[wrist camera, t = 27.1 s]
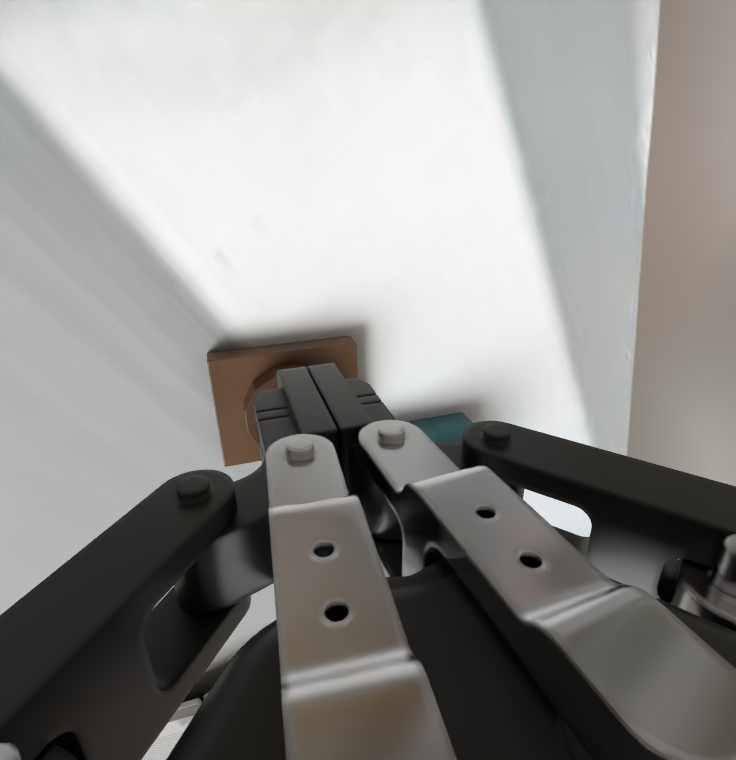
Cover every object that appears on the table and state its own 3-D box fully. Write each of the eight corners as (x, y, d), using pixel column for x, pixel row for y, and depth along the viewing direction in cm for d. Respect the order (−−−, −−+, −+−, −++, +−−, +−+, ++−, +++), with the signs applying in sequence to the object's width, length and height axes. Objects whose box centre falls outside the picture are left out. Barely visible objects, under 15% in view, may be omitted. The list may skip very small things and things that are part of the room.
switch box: (223, 455, 41) (225, 480, 38) (206, 352, 37) (207, 370, 34) (354, 433, 44) (365, 454, 41) (350, 335, 40) (363, 350, 37)
